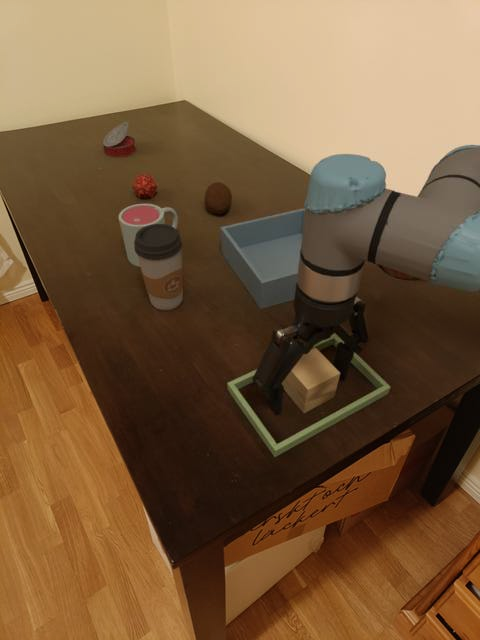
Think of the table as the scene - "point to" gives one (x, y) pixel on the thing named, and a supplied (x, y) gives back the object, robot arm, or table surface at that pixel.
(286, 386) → the block
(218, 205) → the potato
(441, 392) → the table surface
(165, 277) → the coffee cup
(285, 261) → the bin
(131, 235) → the mug
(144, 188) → the red bumpy ball
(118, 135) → the canned food
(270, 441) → the frame
